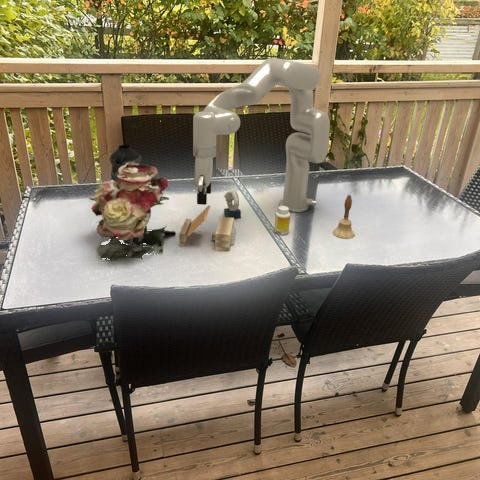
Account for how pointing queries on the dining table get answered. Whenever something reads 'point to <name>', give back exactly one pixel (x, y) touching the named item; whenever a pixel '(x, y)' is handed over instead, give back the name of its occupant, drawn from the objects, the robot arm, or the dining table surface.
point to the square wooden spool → (220, 237)
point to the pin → (231, 236)
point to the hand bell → (345, 222)
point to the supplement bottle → (282, 220)
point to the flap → (198, 221)
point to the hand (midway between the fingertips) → (204, 198)
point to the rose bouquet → (129, 212)
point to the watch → (232, 205)
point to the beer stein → (122, 160)
